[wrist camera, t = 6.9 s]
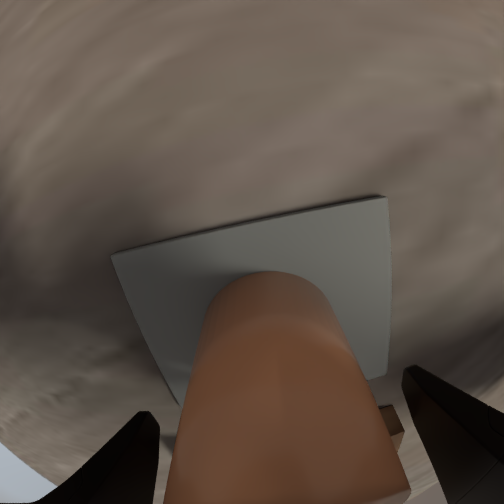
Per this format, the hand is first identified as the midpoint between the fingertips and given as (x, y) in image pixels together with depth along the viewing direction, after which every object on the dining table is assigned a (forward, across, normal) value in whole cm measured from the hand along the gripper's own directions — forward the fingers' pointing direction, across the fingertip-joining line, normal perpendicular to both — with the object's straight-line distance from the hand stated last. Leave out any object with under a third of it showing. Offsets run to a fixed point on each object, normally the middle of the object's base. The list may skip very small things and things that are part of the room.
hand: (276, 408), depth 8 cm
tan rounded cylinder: (+5, 0, 0) cm, 5 cm away
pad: (+5, 0, 0) cm, 5 cm away
